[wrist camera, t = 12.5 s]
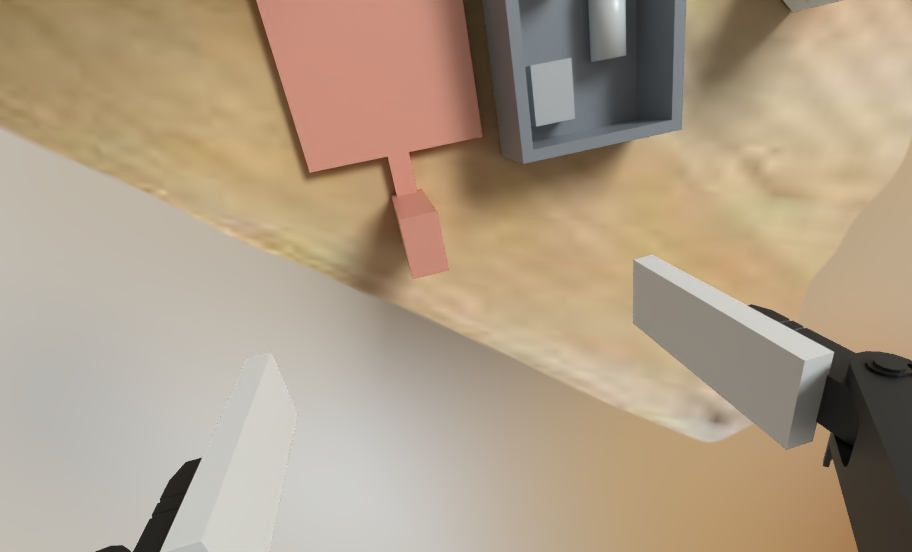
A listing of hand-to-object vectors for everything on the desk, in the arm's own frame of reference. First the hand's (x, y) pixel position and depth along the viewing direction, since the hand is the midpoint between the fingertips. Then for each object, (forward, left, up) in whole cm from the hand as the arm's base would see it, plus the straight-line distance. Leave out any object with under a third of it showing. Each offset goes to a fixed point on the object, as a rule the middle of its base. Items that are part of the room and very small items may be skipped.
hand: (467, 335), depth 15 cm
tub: (-12, +14, -20) cm, 27 cm away
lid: (-11, 0, -20) cm, 23 cm away
